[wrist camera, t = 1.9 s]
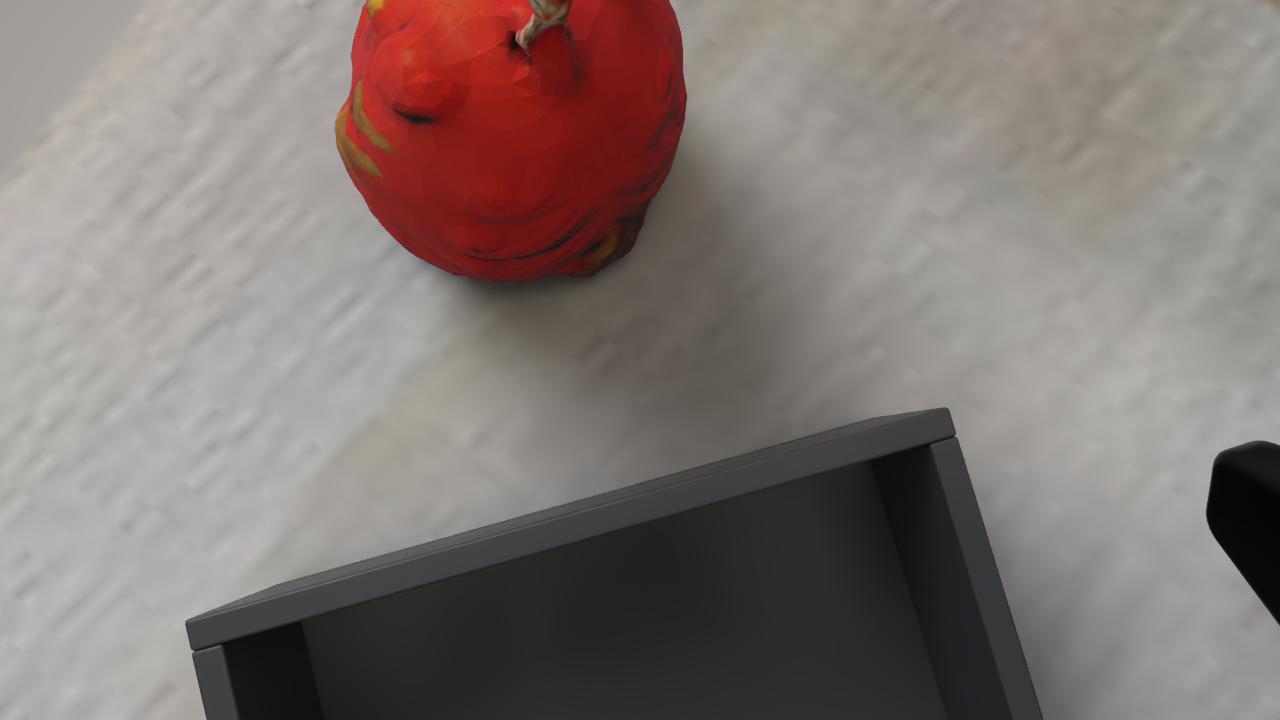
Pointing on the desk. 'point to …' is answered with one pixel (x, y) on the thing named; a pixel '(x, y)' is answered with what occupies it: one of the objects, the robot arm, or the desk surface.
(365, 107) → the red clay folk toy
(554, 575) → the dark grey open box
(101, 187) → the desk surface
